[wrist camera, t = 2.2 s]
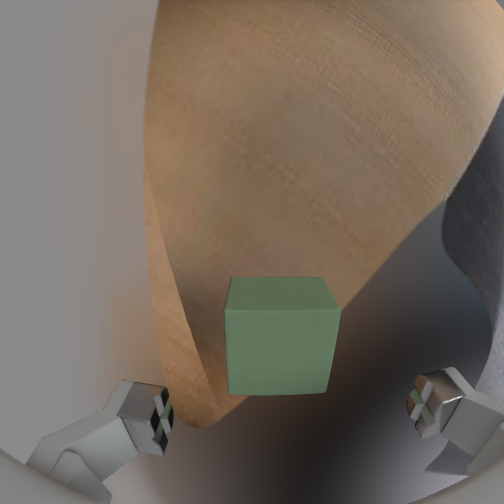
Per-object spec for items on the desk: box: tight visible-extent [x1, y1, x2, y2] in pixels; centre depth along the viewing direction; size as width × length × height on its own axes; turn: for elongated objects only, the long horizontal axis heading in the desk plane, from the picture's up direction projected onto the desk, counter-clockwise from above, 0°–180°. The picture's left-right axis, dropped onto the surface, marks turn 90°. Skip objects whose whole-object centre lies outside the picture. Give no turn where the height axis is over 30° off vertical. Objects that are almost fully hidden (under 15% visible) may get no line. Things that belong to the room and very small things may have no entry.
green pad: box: [224, 277, 341, 395], centre depth 11 cm, size 4×4×3 cm
